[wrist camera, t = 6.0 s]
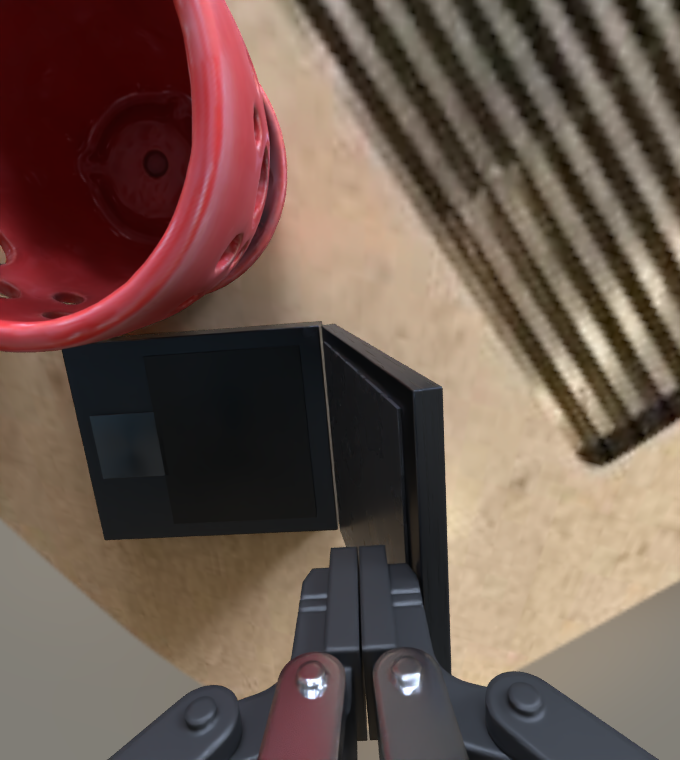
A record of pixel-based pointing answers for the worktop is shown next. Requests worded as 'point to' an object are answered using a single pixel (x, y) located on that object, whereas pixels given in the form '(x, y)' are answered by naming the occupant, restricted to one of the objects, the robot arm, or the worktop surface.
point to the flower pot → (127, 165)
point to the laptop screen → (391, 467)
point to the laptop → (207, 431)
